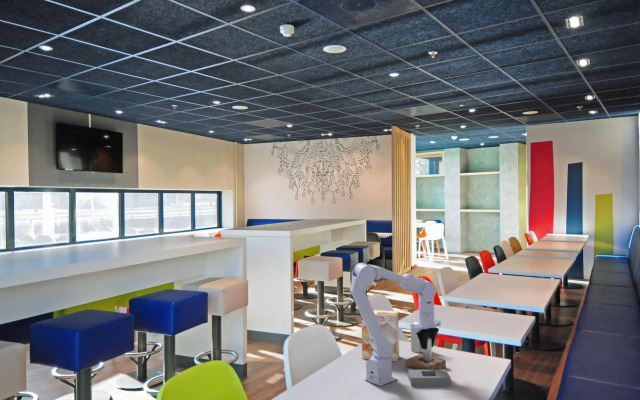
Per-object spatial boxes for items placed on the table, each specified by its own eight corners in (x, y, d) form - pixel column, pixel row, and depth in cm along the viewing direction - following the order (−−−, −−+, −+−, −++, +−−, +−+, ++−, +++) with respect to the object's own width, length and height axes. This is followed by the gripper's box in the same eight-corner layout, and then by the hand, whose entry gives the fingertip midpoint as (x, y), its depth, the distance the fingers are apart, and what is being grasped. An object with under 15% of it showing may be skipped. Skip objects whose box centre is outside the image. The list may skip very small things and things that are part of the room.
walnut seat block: (428, 374, 178) (428, 366, 178) (406, 366, 186) (406, 359, 186) (445, 367, 185) (445, 359, 185) (423, 360, 193) (423, 353, 193)
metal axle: (428, 361, 175) (427, 340, 175) (421, 359, 177) (421, 338, 177) (433, 359, 177) (433, 338, 177) (426, 357, 179) (426, 336, 179)
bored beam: (411, 386, 167) (411, 377, 167) (408, 377, 175) (408, 369, 175) (450, 386, 166) (450, 377, 166) (445, 377, 174) (445, 369, 174)
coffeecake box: (361, 358, 197) (360, 312, 196) (365, 353, 203) (364, 308, 203) (397, 361, 192) (396, 314, 192) (399, 356, 199) (398, 310, 199)
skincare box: (419, 353, 202) (418, 325, 202) (410, 350, 205) (409, 323, 205) (427, 349, 206) (426, 322, 206) (418, 347, 210) (417, 320, 210)
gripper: (422, 317, 169) (423, 354, 169) (446, 310, 178) (447, 346, 178) (407, 314, 175) (408, 350, 175) (432, 307, 184) (432, 341, 184)
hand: (427, 347), depth 177 cm, fingers closed on metal axle, 3 cm apart
